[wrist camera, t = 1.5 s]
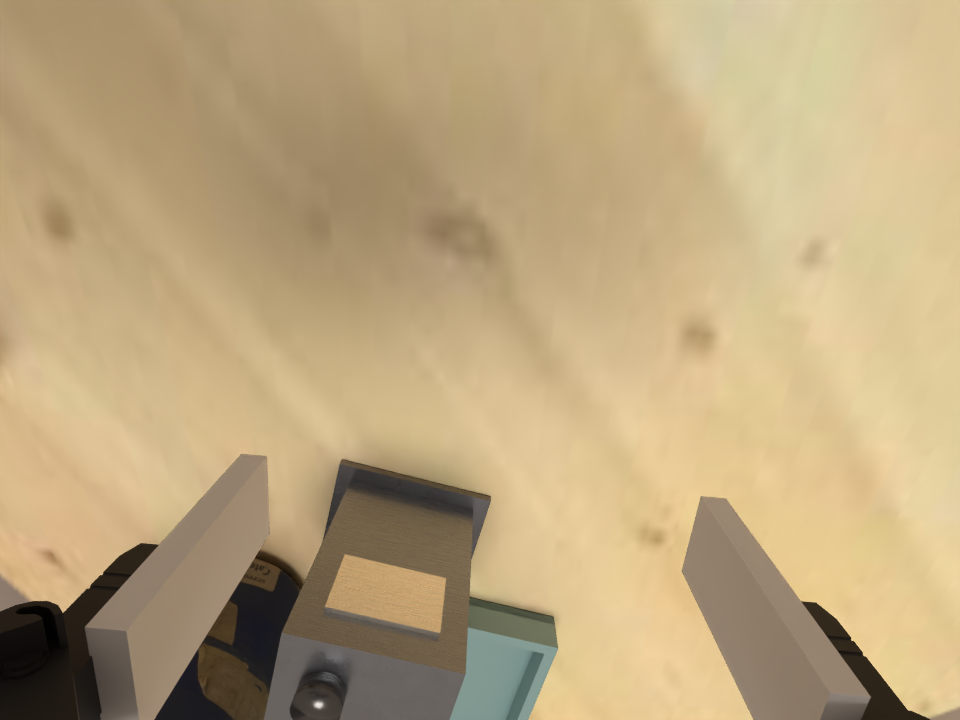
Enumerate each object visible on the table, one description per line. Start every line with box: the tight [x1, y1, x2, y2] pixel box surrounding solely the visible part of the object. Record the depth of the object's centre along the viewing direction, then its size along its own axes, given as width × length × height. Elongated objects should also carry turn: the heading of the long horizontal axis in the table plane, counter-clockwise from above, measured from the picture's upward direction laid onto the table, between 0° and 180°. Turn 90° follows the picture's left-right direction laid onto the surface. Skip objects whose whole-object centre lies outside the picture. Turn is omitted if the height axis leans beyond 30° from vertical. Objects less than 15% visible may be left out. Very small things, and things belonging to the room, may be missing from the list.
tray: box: [450, 597, 558, 720], centre depth 44 cm, size 15×16×3 cm
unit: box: [264, 460, 491, 720], centre depth 33 cm, size 11×8×16 cm
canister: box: [96, 558, 301, 720], centre depth 34 cm, size 10×10×18 cm
